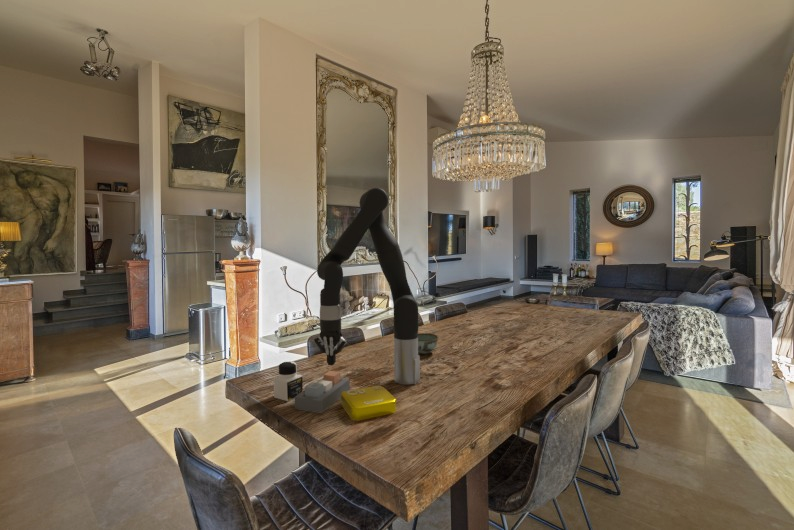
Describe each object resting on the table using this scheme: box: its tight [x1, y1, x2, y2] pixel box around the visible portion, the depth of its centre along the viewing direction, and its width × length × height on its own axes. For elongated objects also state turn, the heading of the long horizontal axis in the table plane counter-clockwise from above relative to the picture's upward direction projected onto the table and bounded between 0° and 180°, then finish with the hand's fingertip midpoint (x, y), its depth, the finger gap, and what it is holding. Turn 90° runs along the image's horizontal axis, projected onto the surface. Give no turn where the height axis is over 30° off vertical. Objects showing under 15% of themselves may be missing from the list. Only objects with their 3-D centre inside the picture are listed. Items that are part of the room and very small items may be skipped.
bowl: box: [418, 332, 439, 355], centre depth 187 cm, size 14×13×8 cm
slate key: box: [304, 381, 324, 398], centre depth 128 cm, size 4×4×4 cm
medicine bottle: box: [273, 360, 304, 402], centre depth 136 cm, size 7×7×12 cm
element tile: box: [340, 384, 397, 421], centre depth 127 cm, size 15×15×5 cm
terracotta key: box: [322, 370, 341, 385], centre depth 139 cm, size 4×4×4 cm
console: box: [294, 377, 351, 414], centre depth 134 cm, size 10×20×4 cm, turn 161°
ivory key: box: [317, 379, 332, 391], centre depth 133 cm, size 4×4×4 cm
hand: (331, 364), depth 139 cm, fingers closed
